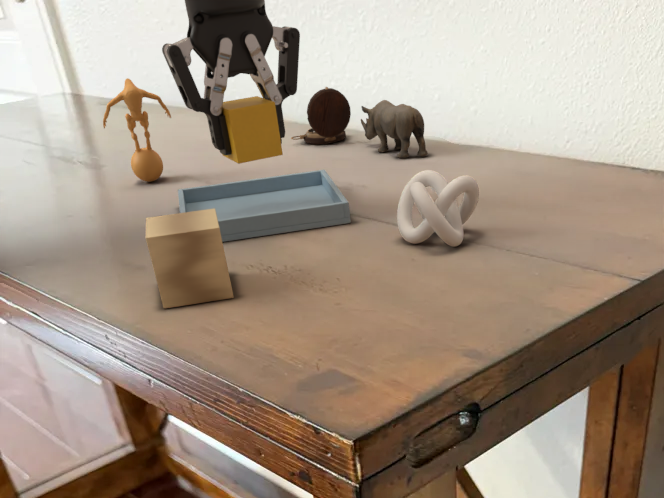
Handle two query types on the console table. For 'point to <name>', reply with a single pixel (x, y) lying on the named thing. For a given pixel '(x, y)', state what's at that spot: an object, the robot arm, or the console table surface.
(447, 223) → the knot
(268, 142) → the top block
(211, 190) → the tray
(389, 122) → the rhino figurine
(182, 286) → the base block
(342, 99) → the compass
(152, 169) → the figurine
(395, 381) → the console table surface
